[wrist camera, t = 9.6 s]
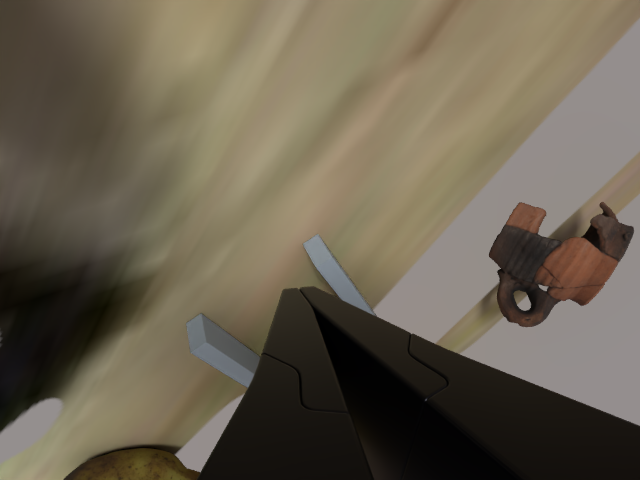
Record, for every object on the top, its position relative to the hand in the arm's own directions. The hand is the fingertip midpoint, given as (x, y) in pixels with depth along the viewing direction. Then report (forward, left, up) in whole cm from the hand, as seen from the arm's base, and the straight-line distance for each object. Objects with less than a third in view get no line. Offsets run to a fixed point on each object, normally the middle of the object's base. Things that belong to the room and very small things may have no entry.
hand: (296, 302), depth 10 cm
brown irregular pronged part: (+24, +16, -13) cm, 31 cm away
